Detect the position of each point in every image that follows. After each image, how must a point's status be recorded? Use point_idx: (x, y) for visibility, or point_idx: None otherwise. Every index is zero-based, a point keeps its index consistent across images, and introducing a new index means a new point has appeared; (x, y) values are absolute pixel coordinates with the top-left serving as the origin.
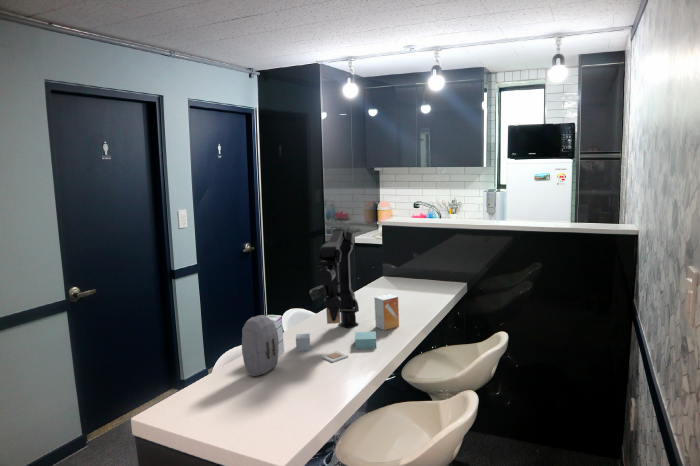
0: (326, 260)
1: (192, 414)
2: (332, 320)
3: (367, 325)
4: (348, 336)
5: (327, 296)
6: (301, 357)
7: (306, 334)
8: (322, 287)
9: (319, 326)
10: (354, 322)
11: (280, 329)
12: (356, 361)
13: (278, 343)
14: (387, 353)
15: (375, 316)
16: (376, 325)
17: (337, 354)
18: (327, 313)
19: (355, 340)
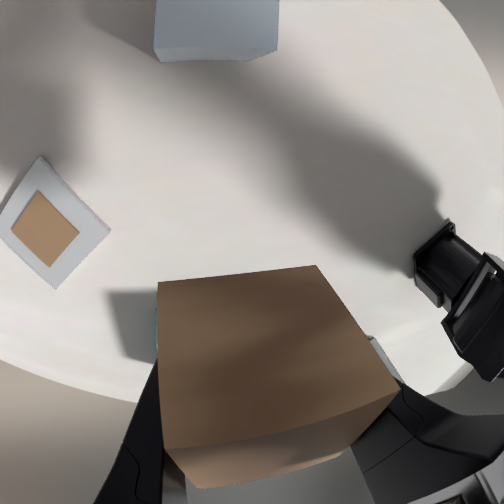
0: None
1: None
2: (157, 359)
3: (399, 313)
4: (329, 267)
5: (485, 494)
6: (54, 41)
7: (253, 24)
8: None
9: (469, 148)
10: (422, 288)
11: None
12: (29, 313)
13: None
14: (119, 387)
15: (391, 365)
16: (372, 344)
17: (55, 245)
18: (161, 411)
19: (156, 342)
